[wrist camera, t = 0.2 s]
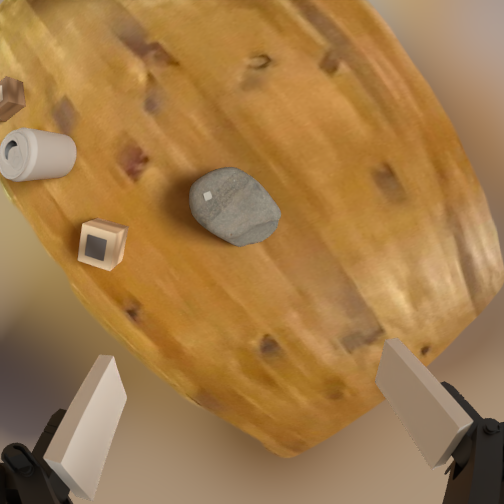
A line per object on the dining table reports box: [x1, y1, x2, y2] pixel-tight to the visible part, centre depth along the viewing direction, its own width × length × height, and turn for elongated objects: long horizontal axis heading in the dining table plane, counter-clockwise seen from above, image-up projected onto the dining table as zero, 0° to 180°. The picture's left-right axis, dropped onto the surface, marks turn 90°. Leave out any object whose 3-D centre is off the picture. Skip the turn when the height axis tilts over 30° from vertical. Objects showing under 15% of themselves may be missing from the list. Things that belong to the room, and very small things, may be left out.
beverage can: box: [0, 128, 76, 182], centre depth 28 cm, size 6×6×12 cm
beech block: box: [78, 218, 128, 271], centre depth 35 cm, size 5×5×5 cm
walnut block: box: [0, 76, 26, 121], centre depth 28 cm, size 5×5×5 cm
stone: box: [189, 167, 281, 247], centre depth 36 cm, size 9×9×10 cm
